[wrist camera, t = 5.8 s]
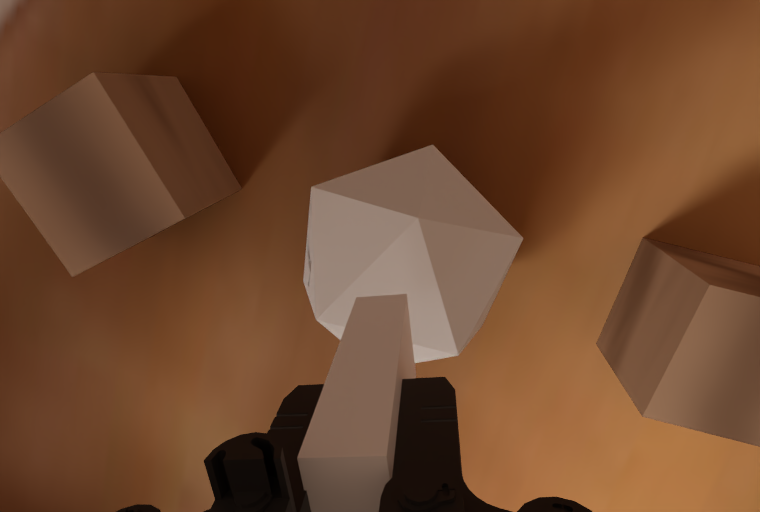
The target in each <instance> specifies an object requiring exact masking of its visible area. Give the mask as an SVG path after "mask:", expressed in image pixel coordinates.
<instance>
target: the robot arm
mask: <svg viewBox="0 0 760 512" xmlns="http://www.w3.org/2000/svg"><path fill="white" fill-rule="evenodd" d="M204 463H205V466H206V470H207V473H208V477H209V480H210V483H211V487H212V490H213V494H214V497H215V501H214V503H213V505H212V507H211V509H209V510H206V511H204V512H511V511H508V510H504V509H500V508H497V507H495V506H492V505H489V504H487V503H485V502H484V501H482V500H481V499H479V498H477V497H476V496H475V495H474V494H473V493H472V492H471V491H470V490H469V489H468V487H467V485H466V484H465V482H464V480H463V476H462V467H461V455H460V442H459V430H458V419H457V407H456V395H455V389H454V388H453V387H452V385H451V384H450V383H449V381H448V380H447V379H446V378H445V377H433V378H416V370H415V362H414V353H413V344H412V335H411V326H410V318H409V309H408V300H407V294H396V295H383V296H369V297H356V300H355V302H354V305H353V308H352V310H351V313H350V316H349V319H348V321H347V324H346V327H345V329H344V332H343V335H342V338H341V340H340V343H339V346H338V348H337V351H336V354H335V357H334V359H333V362H332V365H331V368H330V370H329V373H328V376H327V378H326V381H325V384H319V385H298V386H297V387H296V388H295V389H294V390H293V391H292V392H291V393H290V394H289V395H287V396H286V397H285V398H284V399H283V402H282V404H281V406H280V408H279V410H278V412H277V416H276V417H275V418H274V420H273V422H272V424H271V426H270V430H269V431H268V433H267V434H266V433H257V432H255V433H249V434H243V435H239V436H237V437H234V438H232V439H229V440H227V441H225V442H224V443H222V444H221V445H219V446H218V447H216V448H215V449H214V450H213V451H212V452H211V453H210V454H209V455H208V456H207V458H206V459H205V460H204ZM116 512H161V511H160V510H159V509H157V508H156V507H154V506H152V505H134V506H130V507H127V508H123V509H120V510H118V511H116ZM517 512H592V511H591V510H589V509H587V508H586V507H584V506H582V505H580V504H579V503H577V502H575V501H572V500H568V499H563V498H559V497H540V498H537V499H534V500H532V501H530V502H527V503H525V504H524V505H523V506H522V507H521V508H520V509H519V510H518V511H517Z"/></svg>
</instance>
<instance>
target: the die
mask: <svg viewBox="0 0 760 512" xmlns="http://www.w3.org/2000/svg"><path fill="white" fill-rule="evenodd" d="M522 240H523V237H522V236H521V235H520V234H519V233H518V232H517V231H516V230H515V229H514V228H513V227H512V226H511V225H510V224H509V223H508V222H507V221H506V220H505V219H504V218H503V217H502V216H501V214H500V213H499V212H498V211H497V210H496V209H495V208H494V207H493V206H492V205H491V204H490V203H489V202H488V201H487V200H486V199H485V198H484V197H483V196H482V195H481V194H480V193H479V192H478V191H477V190H476V189H475V188H474V187H473V186H472V185H471V183H470V182H469V181H468V180H467V179H466V178H465V177H464V176H463V175H462V174H461V173H460V172H459V171H458V170H457V169H456V168H455V167H454V166H453V165H452V164H451V163H450V162H449V161H448V160H447V159H446V158H445V157H444V156H443V155H442V154H441V153H440V151H439V150H438V149H437V148H436V147H435V146H434V145H430V146H427V147H424V148H421V149H418V150H415V151H413V152H410V153H407V154H404V155H401V156H398V157H395V158H392V159H390V160H387V161H384V162H381V163H378V164H375V165H372V166H369V167H367V168H364V169H361V170H358V171H355V172H352V173H349V174H346V175H344V176H341V177H338V178H335V179H332V180H329V181H326V182H323V183H320V184H318V185H315V186H312V187H311V194H310V207H309V219H308V231H307V243H306V255H305V267H304V280H303V281H304V285H305V288H306V291H307V294H308V297H309V300H310V303H311V306H312V309H313V312H314V315H315V318H316V320H317V321H318V322H319V323H321V324H322V325H323V326H324V327H325V328H327V329H328V330H329V331H330V332H331V333H333V334H334V335H335V336H336V337H337V338H339V339H340V340H341V338H342V335H343V332H344V329H345V327H346V324H347V321H348V319H349V316H350V313H351V310H352V308H353V305H354V302H355V300H356V297H369V296H383V295H396V294H407V300H408V309H409V318H410V326H411V335H412V344H413V353H414V362H415V363H418V362H424V361H430V360H436V359H441V358H447V357H453V356H459V354H460V353H461V352H462V351H463V349H464V348H465V347H466V345H467V344H468V343H469V342H470V340H471V339H472V338H473V337H474V335H475V334H476V333H477V332H478V330H479V329H480V328H481V326H482V325H483V323H484V321H485V319H486V317H487V314H488V312H489V310H490V308H491V306H492V304H493V302H494V300H495V298H496V295H497V293H498V291H499V289H500V287H501V285H502V283H503V281H504V279H505V276H506V274H507V272H508V270H509V268H510V266H511V264H512V262H513V260H514V257H515V255H516V253H517V251H518V249H519V247H520V245H521V243H522Z"/></svg>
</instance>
